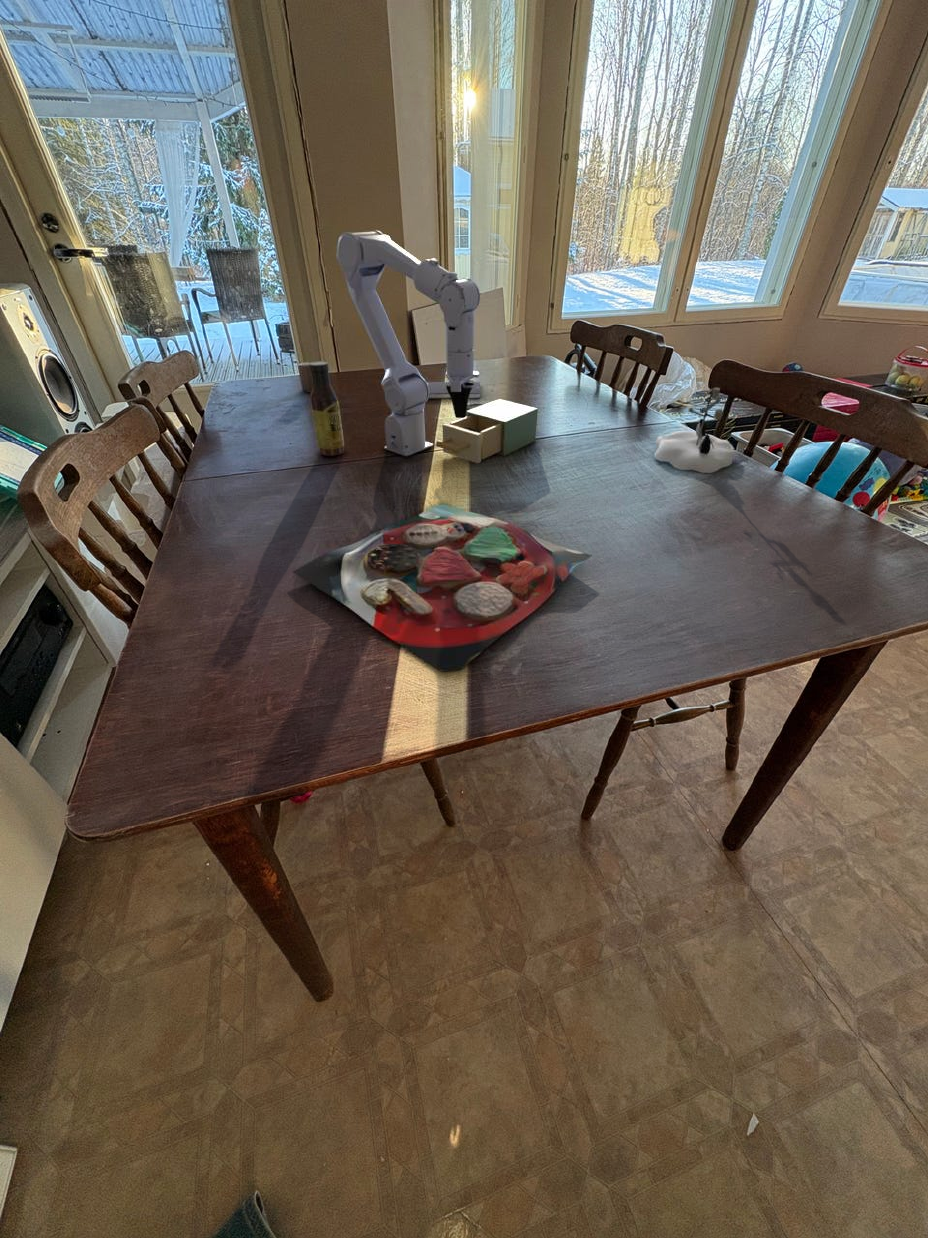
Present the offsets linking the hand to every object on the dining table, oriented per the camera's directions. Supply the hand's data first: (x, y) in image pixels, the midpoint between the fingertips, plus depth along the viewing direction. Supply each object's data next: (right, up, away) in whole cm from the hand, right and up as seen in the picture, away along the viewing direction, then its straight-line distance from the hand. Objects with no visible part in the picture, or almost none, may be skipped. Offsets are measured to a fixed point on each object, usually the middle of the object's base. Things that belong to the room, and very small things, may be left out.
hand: (460, 416), depth 114 cm
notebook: (-5, +27, +49) cm, 56 cm away
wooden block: (-49, +29, +51) cm, 76 cm away
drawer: (+2, -6, +8) cm, 10 cm away
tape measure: (+3, +11, +29) cm, 31 cm away
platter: (-3, -37, -30) cm, 48 cm away
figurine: (+55, -6, +8) cm, 56 cm away
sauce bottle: (-31, -5, +11) cm, 33 cm away
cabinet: (+10, 0, +15) cm, 18 cm away
